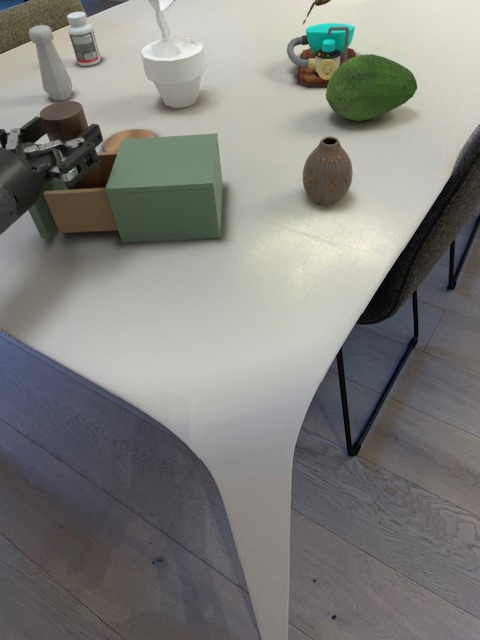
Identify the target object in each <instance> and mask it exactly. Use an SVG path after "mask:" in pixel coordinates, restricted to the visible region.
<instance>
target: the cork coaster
mask: <svg viewBox="0 0 480 640" xmlns="http://www.w3.org/2000/svg"><path fill="white" fill-rule="evenodd" d="M152 137H156V136H155V134H153V132H151V131H149V130H145V129H139V128H134V129H126V130H122V131H119V132H116V133H114V134H112V135H111V136H109V137H108V138H107V139H106V140H105V141H104V143H103V149H104V152H115V151H118V150H119V147H120V144H121V142H122V139H135V138H152Z"/></svg>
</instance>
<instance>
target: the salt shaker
mask: <svg viewBox="0 0 480 640" xmlns="http://www.w3.org/2000/svg"><path fill="white" fill-rule="evenodd" d="M53 34H54V33H53V30H52V28H51V27H50V26H49V25H46V24H40V25H35V26H33V27H31V28H30V29H29V30H28V35H29V39H30V41H31V43H32V44H35V49H36V55H37V61H38V66H39V70H40V77H41V78H40V79H41V83H42V87H43V90H44V92H45V93H46V95H48V96H49V97H50V98H51V99H52V100H53V101H55V102H61V101H66V100H68V99H71V98H72V97H71V96H72V91H73V82H72V79H71V77H70V75H69V73H68V70H67V69H66V67H65V65H64V63H63V60H62V59H61V57H60V54H59V52H58V50H57V48H56V47H55V44H54V42H53V40H54V35H53Z"/></svg>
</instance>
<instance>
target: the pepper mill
mask: <svg viewBox="0 0 480 640" xmlns="http://www.w3.org/2000/svg"><path fill="white" fill-rule="evenodd" d="M39 117H41V120H42V123H43V125H44V128H45V130H46V136H47V138H48V141H49V142H52V141H55V140H62V141H63V142H66V141H69V140H72V139H75V138H77V136H78V135H80V134H81V133H82V132H83V131H84V130H85V129H87V128H88V127H89V124H88V119H87V117H86V114H85V111H84V107H83V104H81V103H80V102H79V101H75V100H63V101H55V102H52V103H51V104H48V105H46V106H45V107H44V108H42V109H41V110H40V112H39ZM76 150H77V149H76V148H73V149H70V150H68V154H69V156H70V155H71V154H72V153H73V152H75V151H76ZM53 152H54V154H55V157H56V160H57V162H58V164H60V163H61V159H62V157H61V155H60V152H59V150H54V151H53ZM106 186H107V185H106V182H105V178H104V175H103V172H102V169H101V165H100V163H99V164H98V165H97V166H96V167H95V168H94V169H92V170H91V171H90V172H89V173H88V174H87V175H85V176H84V177H83V178H82V179H81V180H80V181H78V182H77V183H76V184H75V185H74V186H72V187H67V189H68V190H73V189H91V188H106Z"/></svg>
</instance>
